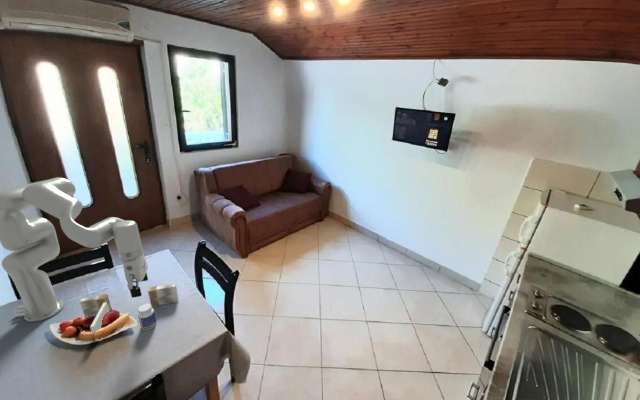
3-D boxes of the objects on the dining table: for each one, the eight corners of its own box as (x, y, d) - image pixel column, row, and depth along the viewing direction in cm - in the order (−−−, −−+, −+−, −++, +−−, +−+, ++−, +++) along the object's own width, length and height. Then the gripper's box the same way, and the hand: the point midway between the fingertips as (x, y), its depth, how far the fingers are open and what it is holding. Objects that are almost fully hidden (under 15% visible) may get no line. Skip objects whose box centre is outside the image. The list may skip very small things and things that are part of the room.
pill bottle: (159, 322, 116) (156, 304, 112) (148, 332, 110) (144, 314, 107) (149, 318, 117) (145, 301, 113) (137, 328, 112) (133, 310, 108)
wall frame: (84, 318, 115) (79, 302, 112) (87, 313, 118) (82, 297, 115) (177, 302, 127) (174, 287, 124) (178, 298, 129) (175, 283, 126)
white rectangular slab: (104, 317, 116) (100, 303, 113) (111, 316, 117) (106, 302, 114) (91, 342, 105) (86, 327, 102) (99, 341, 105) (93, 326, 102)
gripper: (136, 263, 94) (145, 301, 100) (148, 239, 109) (155, 273, 115) (110, 266, 92) (122, 305, 98) (127, 242, 107) (135, 276, 113)
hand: (140, 288), depth 106 cm, fingers open, 9 cm apart
